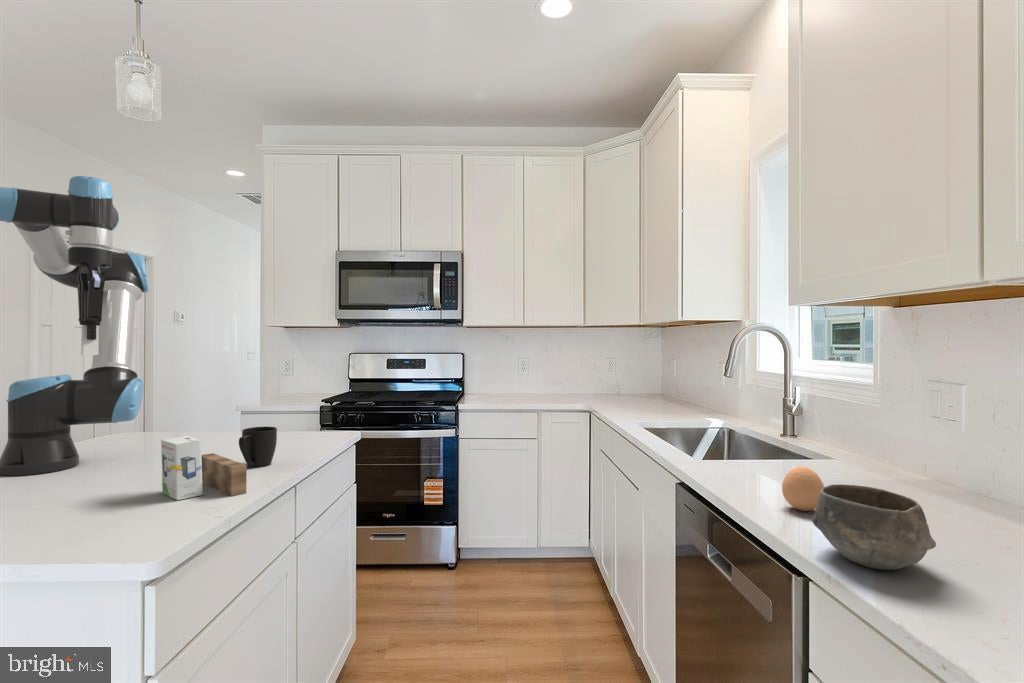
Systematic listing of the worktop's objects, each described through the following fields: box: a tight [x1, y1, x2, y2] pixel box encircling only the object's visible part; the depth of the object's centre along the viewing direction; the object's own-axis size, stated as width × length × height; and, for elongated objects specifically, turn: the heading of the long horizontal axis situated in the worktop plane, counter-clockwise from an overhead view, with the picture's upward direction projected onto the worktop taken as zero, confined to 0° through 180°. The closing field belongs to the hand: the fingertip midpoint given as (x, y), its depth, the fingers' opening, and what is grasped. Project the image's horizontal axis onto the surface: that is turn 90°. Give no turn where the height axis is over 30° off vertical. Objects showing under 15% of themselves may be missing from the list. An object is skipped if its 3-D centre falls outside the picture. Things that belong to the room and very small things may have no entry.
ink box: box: [160, 435, 204, 501], centre depth 108 cm, size 9×5×12 cm, turn 52°
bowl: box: [811, 483, 937, 570], centre depth 77 cm, size 14×15×10 cm
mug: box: [238, 426, 278, 469], centre depth 132 cm, size 8×12×10 cm
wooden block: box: [201, 452, 248, 497], centre depth 114 cm, size 18×3×6 cm, turn 51°
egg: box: [781, 465, 825, 512], centre depth 100 cm, size 7×7×8 cm
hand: (89, 354), depth 113 cm, fingers closed
